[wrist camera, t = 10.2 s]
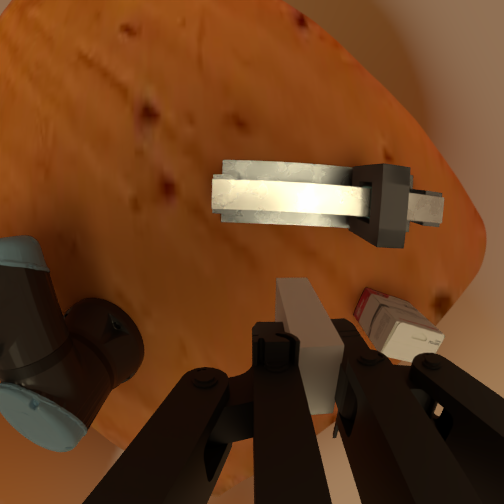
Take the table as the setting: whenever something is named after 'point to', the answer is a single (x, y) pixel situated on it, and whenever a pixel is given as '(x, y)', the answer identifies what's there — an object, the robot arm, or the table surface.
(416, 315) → the ink box
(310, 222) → the pipe rail
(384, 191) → the ring collar
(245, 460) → the table surface
